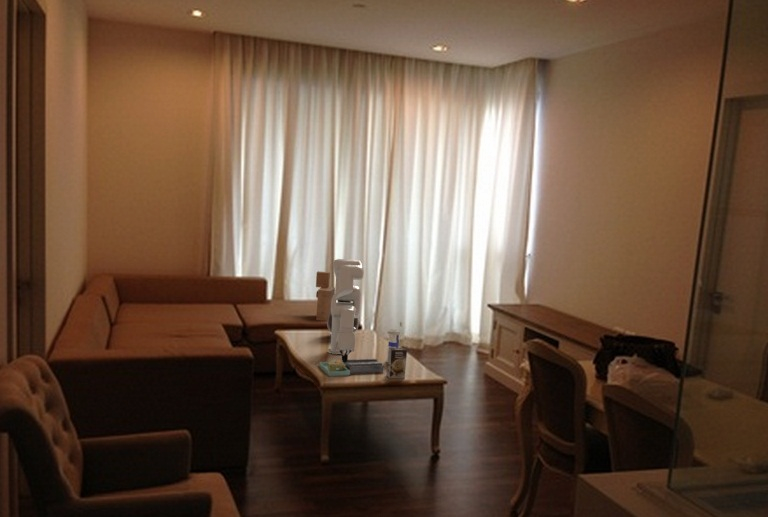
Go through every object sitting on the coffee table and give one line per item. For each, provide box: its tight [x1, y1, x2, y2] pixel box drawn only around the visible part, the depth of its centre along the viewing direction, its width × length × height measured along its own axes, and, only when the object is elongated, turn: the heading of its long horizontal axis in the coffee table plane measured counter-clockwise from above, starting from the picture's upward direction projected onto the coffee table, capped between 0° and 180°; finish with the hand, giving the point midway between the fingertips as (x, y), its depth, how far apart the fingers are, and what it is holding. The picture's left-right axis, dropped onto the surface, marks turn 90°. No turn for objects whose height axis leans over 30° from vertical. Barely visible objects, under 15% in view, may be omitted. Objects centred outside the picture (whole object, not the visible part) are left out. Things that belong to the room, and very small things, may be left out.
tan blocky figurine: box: [315, 271, 335, 322], centre depth 526 cm, size 19×14×35 cm
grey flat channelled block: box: [341, 358, 384, 375], centre depth 387 cm, size 14×20×5 cm
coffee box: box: [386, 347, 408, 379], centre depth 377 cm, size 9×6×16 cm
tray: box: [318, 361, 351, 377], centre depth 381 cm, size 20×12×2 cm, turn 21°
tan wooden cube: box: [327, 361, 337, 371], centre depth 380 cm, size 4×4×4 cm
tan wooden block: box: [336, 359, 346, 371], centre depth 382 cm, size 4×4×4 cm
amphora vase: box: [326, 300, 360, 338], centre depth 463 cm, size 22×22×28 cm
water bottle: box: [385, 322, 403, 363], centre depth 408 cm, size 8×9×25 cm
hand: (344, 361), depth 383 cm, fingers closed
